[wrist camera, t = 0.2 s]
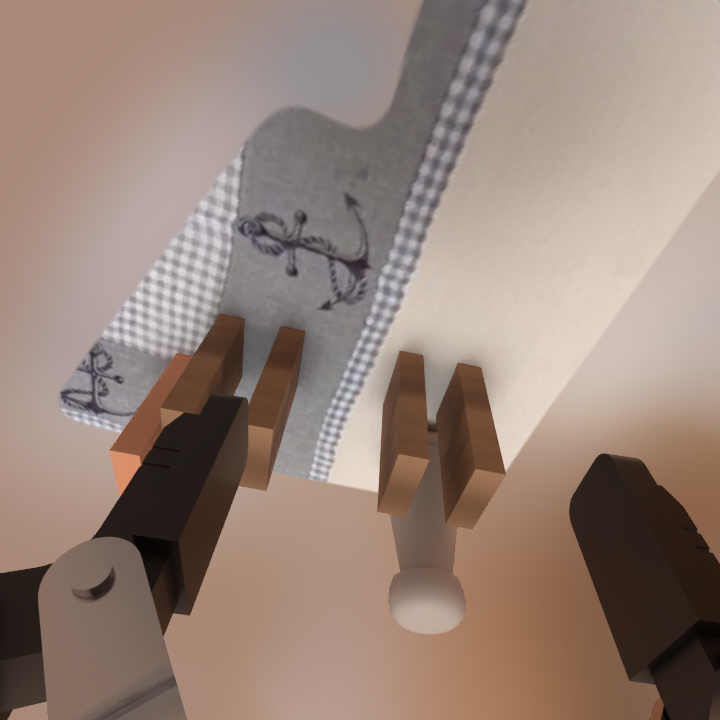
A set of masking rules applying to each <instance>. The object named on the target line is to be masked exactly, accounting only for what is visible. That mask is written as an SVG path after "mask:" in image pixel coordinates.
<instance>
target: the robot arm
mask: <svg viewBox="0 0 720 720" xmlns="http://www.w3.org/2000/svg"><path fill="white" fill-rule="evenodd" d="M247 455H248V400H247V398H243V397H237V396H230V395H224V394H217V393H213V394H211V396H210V397H209V399H208V400H207V402H206V404H205V406H204V407H203V409H202V411H201V413H200V415H198V414H192V413H185V412H184V413H183V414H181V415H180V416H179V417H177V418H176V419H175V420H173V421H172V422H171V423H169V424H168V425H167V426H165V427H164V429H163V430H162V432H161V433H160V435H159V436H158V438H157V440H156V441H155V443H154V444H153V446H152V450H150V451H149V452H148V454H147V455H146V457H145V458H144V460H143V462H142V466H139V468H138V469H137V471H136V473H135V474H134V476H133V477H132V479H131V480H130V482H129V484H128V485H127V487H126V488H125V490H124V491H123V493H122V495H121V496H120V498H119V500H118V501H117V502H116V504H115V506H114V507H113V509H112V510H111V512H110V514H109V515H108V517H107V518H106V520H105V521H104V523H103V525H102V526H101V528H100V529H99V530H98V532H97V533H96V534H95V535H94V537H93V538H92V539H91V540H89V541H85V542H83V543H81V544H79V545H77V546H75V547H73V548H71V549H70V550H68V551H67V552H66V553H64V554H63V555H61V557H59V558H58V559H57V560H56V561H55V562H54V563H52V564H48V565H46V566H41V567H36V568H31V569H25V570H18V571H12V572H6V573H0V720H7V719H8V717H9V716H10V714H11V712H12V710H13V709H17V708H21V707H25V706H29V705H34V704H38V703H42V702H46V701H47V710H48V720H187V718H186V715H185V711H184V708H183V704H182V700H181V697H180V694H179V690H178V686H177V683H176V680H175V677H174V674H173V670H172V667H171V663H170V659H169V656H168V652H167V649H166V645H165V641H164V638H163V636H164V634H165V632H166V629H167V627H168V624H169V622H170V619H171V617H172V614H173V613H176V614H183V615H190V614H191V611H192V608H193V606H194V603H195V600H196V598H197V595H198V592H199V590H200V587H201V584H202V582H203V579H204V576H205V574H206V571H207V568H208V566H209V563H210V560H211V558H212V555H213V552H214V550H215V547H216V544H217V542H218V539H219V536H220V534H221V531H222V528H223V526H224V523H225V520H226V518H227V515H228V512H229V510H230V507H231V504H232V502H233V499H234V496H235V494H236V491H237V489H238V486H239V483H240V481H241V478H242V475H243V472H244V469H245V465H246V461H247ZM569 512H570V513H569V514H570V521H571V524H572V527H573V530H574V533H575V535H576V538H577V541H578V543H579V546H580V549H581V552H582V554H583V557H584V560H585V562H586V565H587V567H588V570H589V573H590V576H591V578H592V581H593V584H594V587H595V589H596V592H597V595H598V597H599V600H600V603H601V605H602V608H603V611H604V613H605V616H606V619H607V622H608V624H609V627H610V630H611V632H612V635H613V638H614V640H615V643H616V646H617V648H618V651H619V654H620V657H621V659H622V662H623V665H624V667H625V670H626V673H627V675H628V678H629V681H635V682H641V683H648V684H655V685H656V687H657V689H658V692H659V694H660V698H658V699H657V700H656V701H655V703H654V705H653V707H652V711H651V715H650V719H649V720H720V564H719V562H718V561H717V559H716V558H715V556H714V554H713V553H710V552H709V547H708V545H707V543H706V542H705V540H704V539H703V537H702V535H701V534H698V533H697V528H696V526H695V524H694V523H693V521H692V520H691V518H690V517H689V515H688V513H687V512H686V510H685V509H684V507H683V506H682V505H681V504H680V503H679V502H678V501H677V500H676V499H675V498H674V497H673V496H672V495H671V494H670V493H669V492H668V491H666V489H665V488H663V487H662V486H660V485H657V484H656V482H655V480H654V479H653V477H652V475H651V474H650V473H649V470H648V469H647V467H646V466H645V464H644V463H643V462H642V461H641V460H639V459H637V458H630V457H624V456H618V455H611V454H600V455H599V456H598V457H597V458H596V459H595V461H594V462H593V464H592V465H591V467H590V469H589V470H588V472H587V474H586V475H585V477H584V478H583V480H582V481H581V483H580V485H579V486H578V488H577V490H576V492H575V493H574V495H573V497H572V499H571V502H570V511H569Z"/></svg>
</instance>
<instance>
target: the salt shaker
mask: <svg viewBox="0 0 720 720" xmlns="http://www.w3.org/2000/svg"><path fill="white" fill-rule="evenodd" d="M428 440H429V457H430V460H429V463H428V465H427V467H426V470H425V472H424V474H423V476H422V479H421V481H420V483H419V485H418V488H417V490H416V492H415V495H414V497H413V499H412V501H411V504H410V506H409V508H408V510H407V513H406V515H405V517H404V516H398V515H393V514H390V518H391V524H392V529H393V534H394V539H395V545H396V550H397V555H398V561H399V567H400V572H399V573H398V574H396V575H394V576H393V579H392V582H391V586H390V589H389V607H390V613H391V615H392V616H393V618H394V620H395V621H396V622H397V623H398V624H399V625H400V626H401V627H403V628H405V629H407V630H408V631H413V632H416V633H420V634H437V633H443V632H448V631H449V630H451V629H453V628H455V627H456V626H457V625H458V624H459V623H460V622H461V620H462V619H463V617H464V615H465V596H464V591H463V589H462V586H461V584H460V582H459V580H458V577H456V576H455V575H453V564H454V553H455V541H456V533H457V526H452V525H447V524H445V512H444V501H443V489H442V478H441V466H440V455H439V443H438V433H437V432H434V431H428Z"/></svg>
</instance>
